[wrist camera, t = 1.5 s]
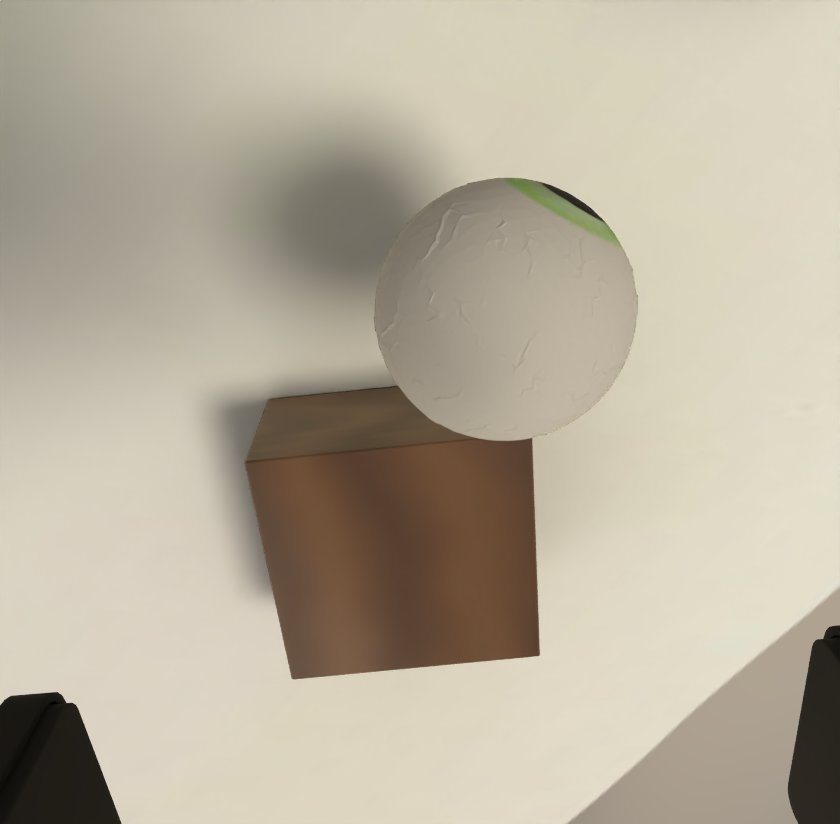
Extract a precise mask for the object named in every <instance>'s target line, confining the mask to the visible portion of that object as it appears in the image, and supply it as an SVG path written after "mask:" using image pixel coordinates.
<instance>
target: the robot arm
mask: <svg viewBox="0 0 840 824" xmlns="http://www.w3.org/2000/svg"><path fill="white" fill-rule="evenodd" d="M788 795H789V800H790V804H791V807H792V810H793V813H794V815H795V818H796V819H797V822H798V824H840V626H832V627H829V628H828V629H827V630H826V632H825V635H824V639H819V640H816V641H815V642H814V643H813V646H812V651H811V656H810V662H809V668H808V674H807V679H806V685H805V691H804V696H803V702H802V708H801V713H800V719H799V725H798V731H797V736H796V742H795V748H794V753H793V760H792V765H791V771H790V776H789V782H788ZM0 824H121V821H120V818H119V816H118V813H117V810H116V808H115V805H114V802H113V800H112V797H111V795H110V792H109V789H108V787H107V784H106V781H105V779H104V776H103V773H102V771H101V768H100V765H99V763H98V760H97V757H96V755H95V752H94V750H93V747H92V744H91V742H90V739H89V736H88V734H87V731H86V728H85V726H84V723H83V720H82V718H81V715H80V713H79V710H78V708H77V706H76V705H75V704H73V703H66V701H65V700H64V698H63V696H62V695H61V694H59V693H58V692H52V693H41V694H29V695H17V696H10V697H9V698H7V699H5V700H4V702H3V703H2V704H1V705H0Z"/></svg>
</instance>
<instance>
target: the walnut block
mask: <svg viewBox="0 0 840 824" xmlns="http://www.w3.org/2000/svg"><path fill="white" fill-rule="evenodd" d="M245 466H246V471H247V476H248V480H249V485H250V489H251V494H252V498H253V503H254V508H255V512H256V517H257V521H258V526H259V531H260V535H261V540H262V544H263V549H264V553H265V558H266V563H267V567H268V572H269V576H270V581H271V586H272V590H273V595H274V599H275V604H276V608H277V613H278V618H279V622H280V627H281V631H282V636H283V641H284V645H285V650H286V654H287V659H288V664H289V668H290V673H291V677H292V679H303V678H313V677H324V676H334V675H345V674H355V673H366V672H376V671H387V670H397V669H408V668H418V667H429V666H439V665H450V664H460V663H470V662H481V661H491V660H502V659H512V658H523V657H533V656H539V654H540V646H539V618H538V590H537V562H536V534H535V506H534V478H533V450H532V438H529V439H523V440H514V441H493V440H486V439H479V438H475V437H470V436H466V435H464V434H461V433H457V432H454V431H452V430H450V429H448V428H446V427H444V426H442V425H441V424H437V423H435V422H434V421H432V420H431V419H429V418H428V417H427V416H426V415H425V414H424V413H422V412H421V411H420V410H419V409H418V408H417V407H416V406H415V405H414V404H413V403H412V402H411V401H410V400H409V399H408V398H407V397H406V395H405V394H404V393H403V392H402V390H401V389H400V388H399V387H390V388H380V389H369V390H359V391H349V392H339V393H329V394H319V395H309V396H299V397H289V398H279V399H269V400H268V402H267V405H266V407H265V410H264V413H263V415H262V418H261V421H260V423H259V426H258V429H257V431H256V434H255V437H254V439H253V442H252V445H251V447H250V450H249V453H248V455H247V458H246V460H245Z"/></svg>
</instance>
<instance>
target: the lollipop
mask: <svg viewBox="0 0 840 824" xmlns="http://www.w3.org/2000/svg"><path fill="white" fill-rule="evenodd" d="M637 313H638V295H637V294H636V288H635V282H634V277H633V270H632V267H631V265H630V262H629V260H628V258H627V256H626V253H625V251H624V250H623V248H622V246H621V244H620V242H619V241H618V239H617V237H616V236H615V234H614V233H613V231H612V230H611V229H610V228H609V226H608V225H607V224H606V223H605V221H604V220H603V219H602V218H601V217H599V216H598V215H597V214H596V213H595V212H594V211H593V210H592V209H591V208H590V207H589V206H587V205H586V204H585V203H583V202H582V201H580V200H579V199H577V198H576V197H574V196H572V195H571V194H569V193H567V192H565V191H562V190H560V189H558V188H556V187H553V186H551V185H548V184H545V183H542V182H538V181H532V180H527V179H521V178H495V179H488V180H483V181H478V182H473V183H468V184H467V185H464V186H461V187H458V188H455V189H453V190H451V191H449V192H447V193H445V194H444V195H442V196H441V197H439V198H437V199H436V200H434V201H433V202H431V203H430V204H429V205H428V206H426V207H425V208H424V209H423V210H421V211H420V212H419V213H418V214H417V215H416V216H415V217H414V218H413V219H412V220H411V221H410V222H409V223H408V224H407V225H406V226H405V228H404V229H403V230H402V231H401V233H400V234H399V235H398V236H397V239H396V241H395V242H394V244H393V245H392V247H391V249H390V251H389V253H388V255H387V257H386V259H385V262H384V265H383V267H382V270H381V273H380V277H379V281H378V286H377V291H376V299H375V316H374V324H375V331H376V333H377V337H378V343H379V347H380V350H381V353H382V355H383V358H384V361H385V363H386V366H387V368H388V370H389V371H390V373H391V375H392V377H393V379H394V380H395V382H396V384H397V385H398V386H399V388H400V389H401V390H402V392H403V393H404V394H405V395H406V397H407V398H408V399H409V400H410V401H411V402H412V403H413V404H414V405H415V406H416V407H417V408H418V409H419V410H420V411H421V412H422V413H424V414H425V415H426V416H427V417H428V418H429V419H431V420H432V421H434V422H435V423H437V424H441V425H442V426H444V427H446V428H448V429H450V430H452V431H454V432H457V433H461V434H464V435H466V436H470V437H475V438H479V439H486V440H493V441H514V440H523V439H529V438H533V437H537V436H541V435H546V434H548V433H551V432H553V431H555V430H557V429H559V428H562V427H564V426H566V425H567V424H569V423H571V422H572V421H574V420H576V419H577V418H579V417H580V416H582V415H583V414H584V413H585V412H587V411H588V410H589V409H590V408H591V407H593V406H594V405H595V404H596V403H597V402H598V401H599V400H600V399H601V398H602V397H603V395H604V394H605V393H606V392H607V391H608V390H609V388H610V387H611V386H612V384H613V383H614V381H615V380H616V378H617V377H618V375H619V373H620V371H621V369H622V367H623V365H624V363H625V361H626V359H627V356H628V353H629V351H630V347H631V344H632V341H633V337H634V333H635V327H636V318H637Z"/></svg>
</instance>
